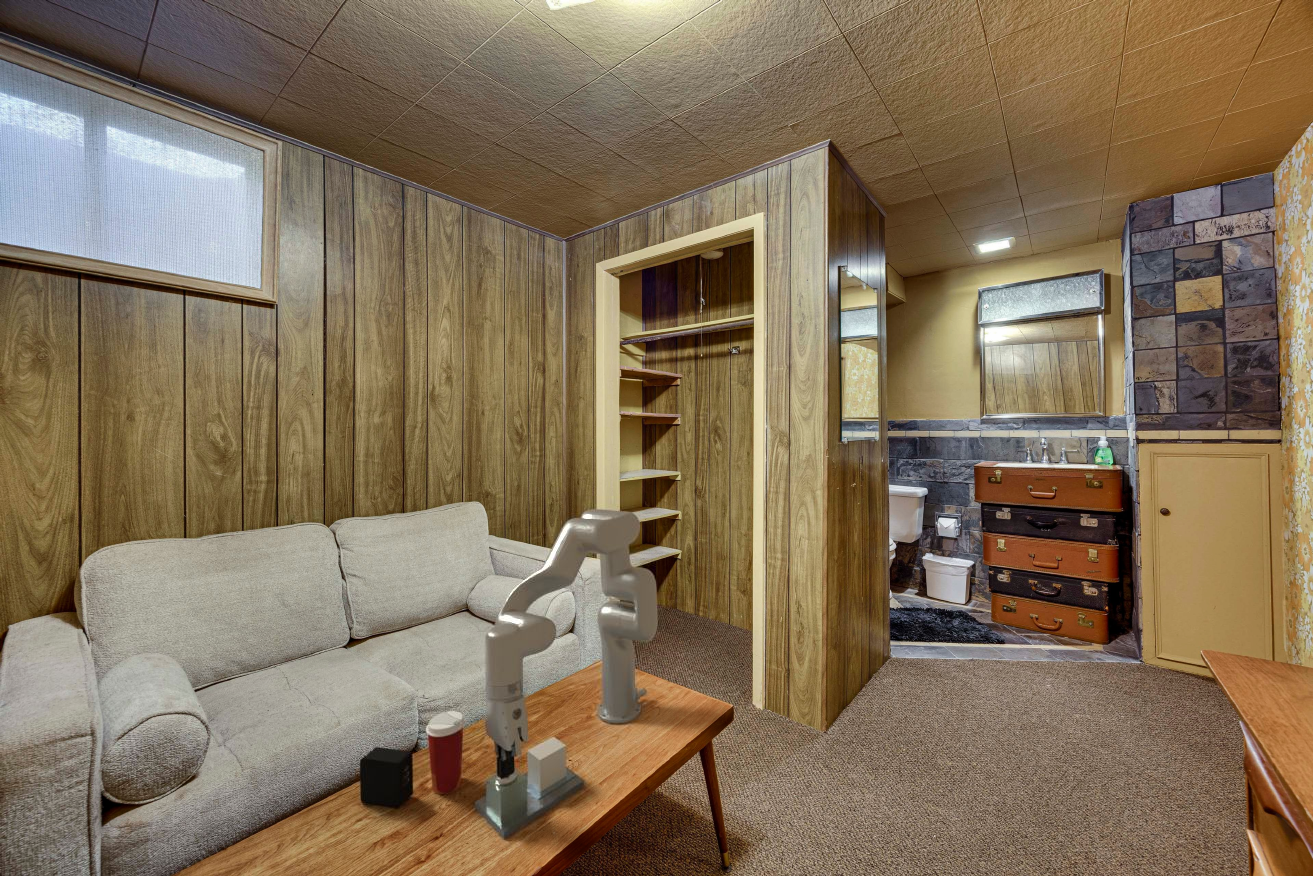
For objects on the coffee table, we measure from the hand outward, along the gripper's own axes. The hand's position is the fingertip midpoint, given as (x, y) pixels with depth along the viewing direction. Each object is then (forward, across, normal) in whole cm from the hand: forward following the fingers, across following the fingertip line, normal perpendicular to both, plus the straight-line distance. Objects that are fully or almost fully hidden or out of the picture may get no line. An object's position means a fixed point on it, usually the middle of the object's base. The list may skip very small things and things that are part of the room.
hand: (505, 774), depth 105 cm
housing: (+7, +2, -11) cm, 13 cm away
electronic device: (+9, +24, +15) cm, 30 cm away
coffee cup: (+9, +19, +4) cm, 22 cm away
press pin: (+6, 0, 0) cm, 6 cm away
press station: (+9, +1, -7) cm, 11 cm away
